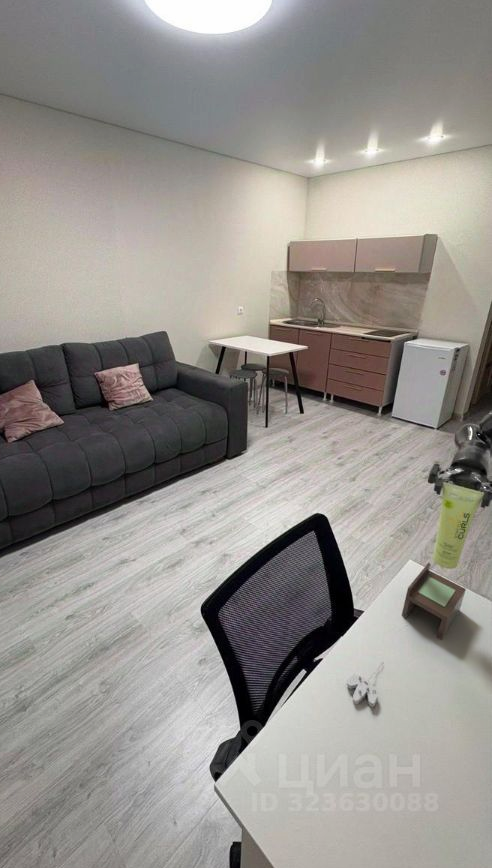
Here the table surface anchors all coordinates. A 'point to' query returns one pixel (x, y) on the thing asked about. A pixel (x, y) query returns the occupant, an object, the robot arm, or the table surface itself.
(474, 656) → the table surface
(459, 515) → the tube
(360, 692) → the white lobed piece
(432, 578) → the wooden display stand
